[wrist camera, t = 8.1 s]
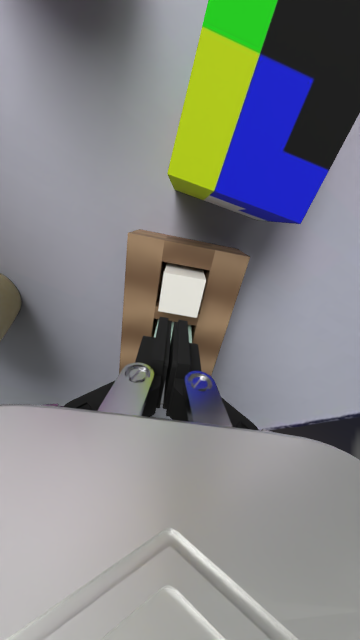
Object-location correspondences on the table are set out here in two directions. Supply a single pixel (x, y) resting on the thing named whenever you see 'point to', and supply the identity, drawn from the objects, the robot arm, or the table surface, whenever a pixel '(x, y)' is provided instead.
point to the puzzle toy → (268, 104)
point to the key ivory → (182, 290)
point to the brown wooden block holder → (146, 282)
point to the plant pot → (8, 304)
